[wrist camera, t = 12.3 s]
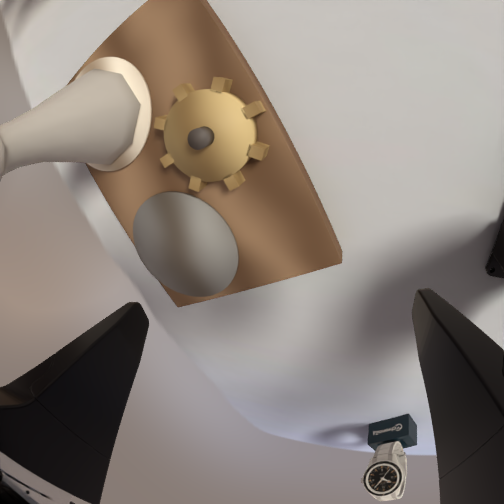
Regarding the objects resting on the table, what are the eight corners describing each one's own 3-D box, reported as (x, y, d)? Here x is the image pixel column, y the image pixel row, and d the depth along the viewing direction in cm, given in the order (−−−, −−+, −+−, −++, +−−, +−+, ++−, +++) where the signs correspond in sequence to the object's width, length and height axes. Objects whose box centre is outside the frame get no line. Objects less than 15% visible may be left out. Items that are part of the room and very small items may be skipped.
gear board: (192, -20, 12) (163, -35, 9) (342, 251, 20) (340, 282, 17) (66, 98, 19) (35, 106, 16) (185, 297, 27) (166, 323, 24)
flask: (116, 179, 20) (12, 243, 12) (64, 129, 19) (-36, 171, 11) (158, 99, 16) (25, 133, 8) (95, 53, 15) (-25, 69, 7)
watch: (404, 407, 27) (401, 490, 18) (419, 429, 29) (417, 499, 20) (363, 418, 30) (352, 497, 21) (383, 438, 32) (376, 505, 23)
